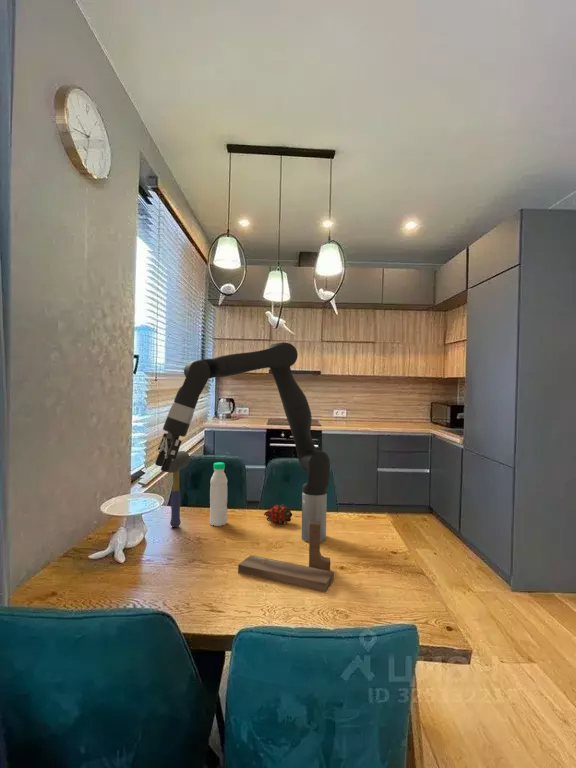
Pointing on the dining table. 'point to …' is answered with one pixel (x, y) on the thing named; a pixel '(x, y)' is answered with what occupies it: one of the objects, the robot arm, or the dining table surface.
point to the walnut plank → (287, 573)
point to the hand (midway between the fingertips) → (160, 468)
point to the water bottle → (218, 496)
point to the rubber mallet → (177, 485)
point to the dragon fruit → (278, 514)
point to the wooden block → (316, 548)
